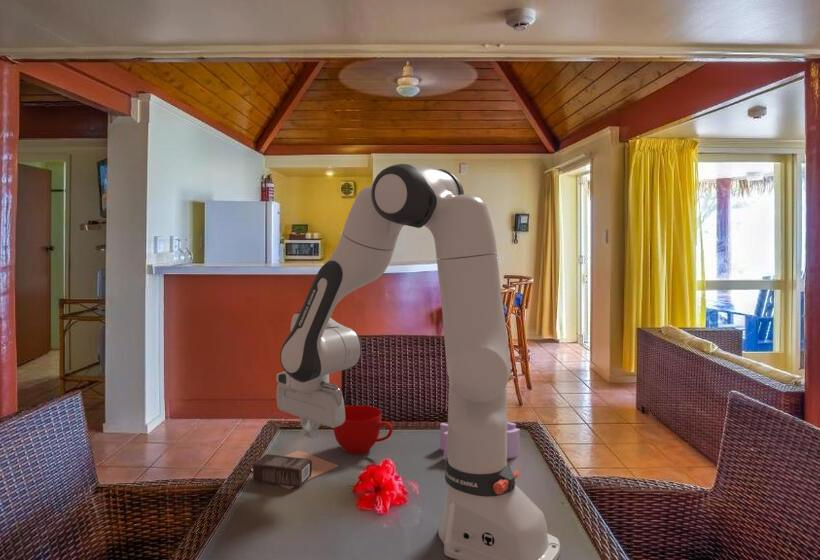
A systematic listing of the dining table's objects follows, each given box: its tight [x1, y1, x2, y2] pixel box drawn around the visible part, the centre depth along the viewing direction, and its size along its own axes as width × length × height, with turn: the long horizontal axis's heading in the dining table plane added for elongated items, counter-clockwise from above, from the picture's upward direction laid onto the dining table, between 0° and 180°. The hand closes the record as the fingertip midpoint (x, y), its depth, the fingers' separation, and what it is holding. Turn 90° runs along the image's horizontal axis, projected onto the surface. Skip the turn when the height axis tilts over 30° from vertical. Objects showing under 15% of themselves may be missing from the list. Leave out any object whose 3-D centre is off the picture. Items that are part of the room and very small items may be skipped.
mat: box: [250, 450, 339, 490], centre depth 129 cm, size 15×15×1 cm
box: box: [252, 453, 312, 488], centre depth 123 cm, size 6×4×12 cm
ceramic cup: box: [332, 404, 394, 455], centre depth 139 cm, size 13×17×10 cm
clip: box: [439, 421, 521, 461], centre depth 139 cm, size 20×12×7 cm, turn 94°
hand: (310, 436), depth 123 cm, fingers closed
